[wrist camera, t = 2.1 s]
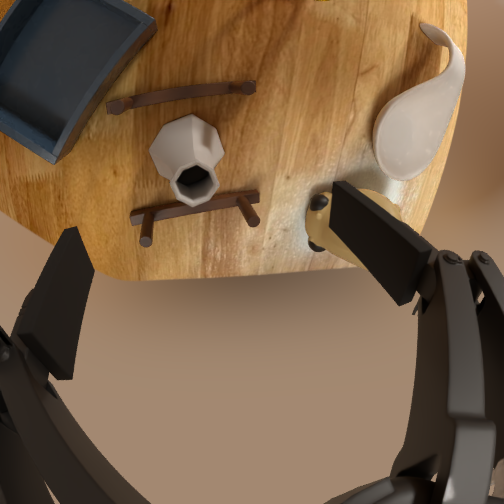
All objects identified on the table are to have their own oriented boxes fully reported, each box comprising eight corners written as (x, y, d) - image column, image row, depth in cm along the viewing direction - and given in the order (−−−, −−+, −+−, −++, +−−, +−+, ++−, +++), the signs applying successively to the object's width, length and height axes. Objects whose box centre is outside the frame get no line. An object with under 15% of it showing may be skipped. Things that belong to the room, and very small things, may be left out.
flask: (193, 101, 23) (205, 108, 15) (236, 154, 27) (267, 189, 19) (136, 149, 24) (119, 183, 16) (182, 197, 28) (189, 249, 20)
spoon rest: (401, 182, 35) (435, 204, 29) (344, 155, 30) (382, 176, 25) (448, 53, 24) (485, 60, 18) (399, 5, 19) (440, 3, 14)
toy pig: (327, 169, 35) (295, 189, 27) (413, 192, 30) (411, 223, 22) (319, 233, 40) (287, 268, 33) (395, 258, 35) (383, 303, 27)
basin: (70, 152, 22) (54, 165, 18) (-17, 97, 14) (-40, 103, 10) (158, 30, 18) (155, 19, 14) (58, -21, 10) (43, -34, 6)
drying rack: (133, 221, 28) (127, 251, 23) (108, 102, 20) (91, 107, 16) (256, 198, 31) (274, 223, 26) (252, 80, 23) (273, 80, 18)
